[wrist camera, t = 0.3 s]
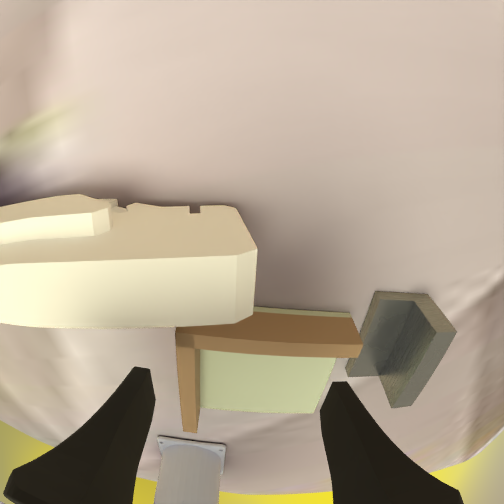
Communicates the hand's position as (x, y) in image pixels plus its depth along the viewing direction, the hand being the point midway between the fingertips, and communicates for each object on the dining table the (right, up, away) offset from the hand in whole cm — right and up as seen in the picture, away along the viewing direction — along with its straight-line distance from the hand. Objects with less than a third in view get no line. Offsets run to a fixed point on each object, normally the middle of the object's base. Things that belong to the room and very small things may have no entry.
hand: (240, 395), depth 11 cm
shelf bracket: (-13, +8, +8) cm, 17 cm away
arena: (+1, -4, +13) cm, 13 cm away
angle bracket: (+11, -1, +12) cm, 17 cm away
